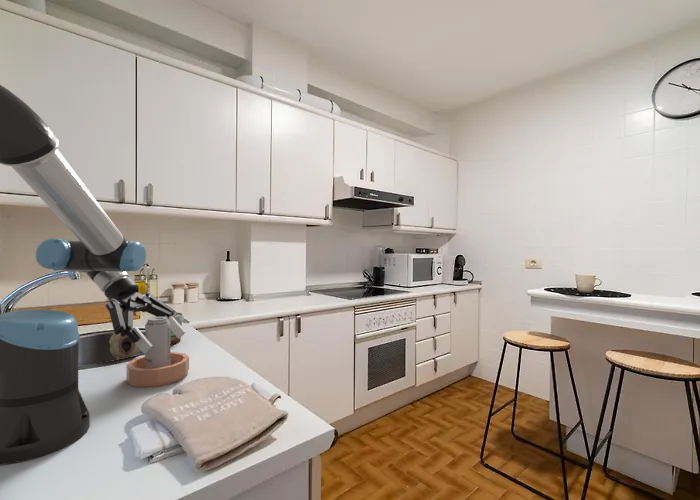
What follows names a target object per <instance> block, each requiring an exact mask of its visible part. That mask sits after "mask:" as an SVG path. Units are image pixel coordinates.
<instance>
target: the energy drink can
mask: <svg viewBox="0 0 700 500" xmlns="http://www.w3.org/2000/svg"><path fill="white" fill-rule="evenodd" d="M144 336H145V337H146V338H147V340H148V341H149V342H150V343H151V344H152V345H153V346H152V347H151V348H150V349H149V350H148V351H147V352H146V353H144V356H145V369H150V368H160V367H165V366H170V365H171V355H170V352H171V345H170V322H169V320H168V317H165V316H159V317H157V316H152V317H148V318H147V321H146V323H145V325H144Z"/></svg>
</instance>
